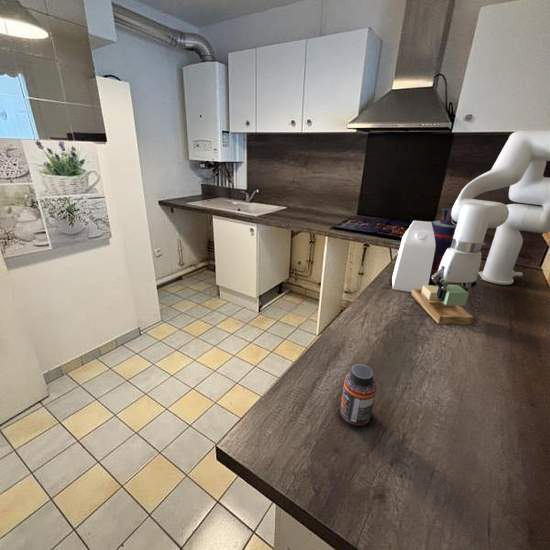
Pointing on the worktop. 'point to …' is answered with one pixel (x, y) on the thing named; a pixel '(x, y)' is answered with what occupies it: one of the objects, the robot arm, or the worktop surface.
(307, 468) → the worktop surface
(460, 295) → the green block
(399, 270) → the milk
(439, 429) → the worktop surface
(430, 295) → the tan block
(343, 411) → the supplement bottle
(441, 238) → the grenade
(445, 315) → the divided wooden tray
